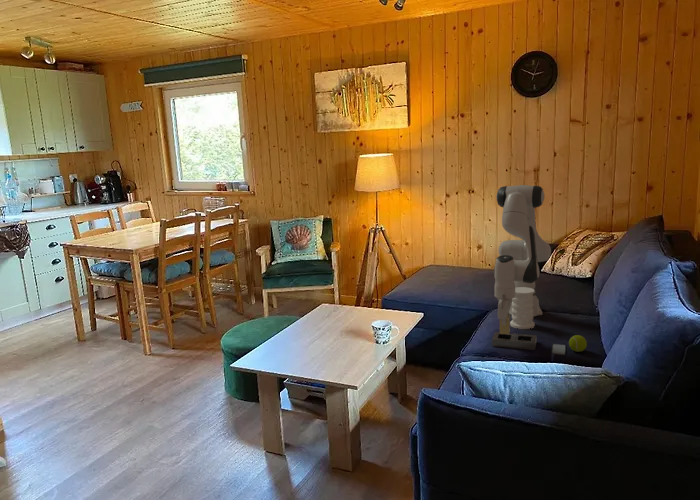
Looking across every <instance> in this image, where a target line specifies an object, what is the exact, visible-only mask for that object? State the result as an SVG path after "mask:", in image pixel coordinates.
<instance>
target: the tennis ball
mask: <svg viewBox="0 0 700 500" xmlns="http://www.w3.org/2000/svg"><path fill="white" fill-rule="evenodd" d="M568 345H569V349H571V350H572V351H574V352H576V353H577V352H578V353H580V352H583V351H585V350H586V348H587V346H588V343H587V339H586V338H585V337H584V336H582V335H577V334H576V335H573V336H571V337H570V338H569V341H568Z"/></svg>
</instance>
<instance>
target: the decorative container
mask: <svg viewBox="0 0 700 500" xmlns="http://www.w3.org/2000/svg"><path fill="white" fill-rule="evenodd" d="M534 293H535V290H534V289H532V288H527V287H516V288H515V297H514V298H512V300H513V302H512V315H511V320H510V327H512V328H514V329H517V328H518V330H531V329H533V328H535V327H536V325H535V323H536V322H534V316H533V305H534V304H533V299H534V297H533V294H534ZM534 326H535V327H534ZM530 328H531V329H530Z"/></svg>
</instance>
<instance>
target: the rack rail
mask: <svg viewBox="0 0 700 500" xmlns="http://www.w3.org/2000/svg"><path fill="white" fill-rule="evenodd" d="M536 345H537V335H536V334H535V335H534V334H522V333H513V332H512V333H511V332H509V334H499V331H495V332H494V334H493V336H492V338H491V346H492V347H498V348H499V347H501V348H511V349H519V350H530V351H536V348H537V347H536Z"/></svg>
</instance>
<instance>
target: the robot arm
mask: <svg viewBox="0 0 700 500" xmlns="http://www.w3.org/2000/svg"><path fill="white" fill-rule="evenodd" d="M545 195H546V194H545V192H544V188H543V187H542V186H540V185H535V184H534V185H528V184H527V185H526V184H519V185H509V186H507V185H503V186H501V187H499V188H498V189H497V193H496V195H495V197H496V202H497V205H498V206H499V207H501V208H503V209H502V213H501V214H502V216H501V224H502V225H501V226H502V227H503V230H505V232H507V233H508V234H510V235H512V236H514V237H516V238H519V239H509V240H503V241H501V242H500V244H499V246H498V255H499V256H497V257H496V259H495V265H494V266H493V267H494V269H493V274H494V275H493V276H494V279H495V281H494V282H495V283H494V286H493V287H494V291H493V292H494V297H495V298H497V301H498V304H497V318H498V320H500V319H501V320H502V325H506V319H507V316H508V314H510V316H512V302H513V300H512V298H514V297H515V288H516V287H527V288H532V289H534V290H535V293H534V294H533V297H534V299H533V304H534V305H533V317H536V316H542V315H544V314H543V311H542V309H541V307H540V305H539V303H540V302H539V301H540V300H539V298H538V297H537V296H536V295H537V288H536V282H537V280H538V279H539V277H540V266H539V263H541V262H542V263H543V262H547V261H548V260H549V259H550V257H551V256H552V248H551V246H550V244H549V243H548V242H547V241H545V240H544V239H543V238H542V237H541V236H540V235H539V233H538V231H537V230H538V229H537V226H536V224H537V223H536V208H540V207H541V206H542V205H543V203H544V201H545V198H546V197H545Z"/></svg>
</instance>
